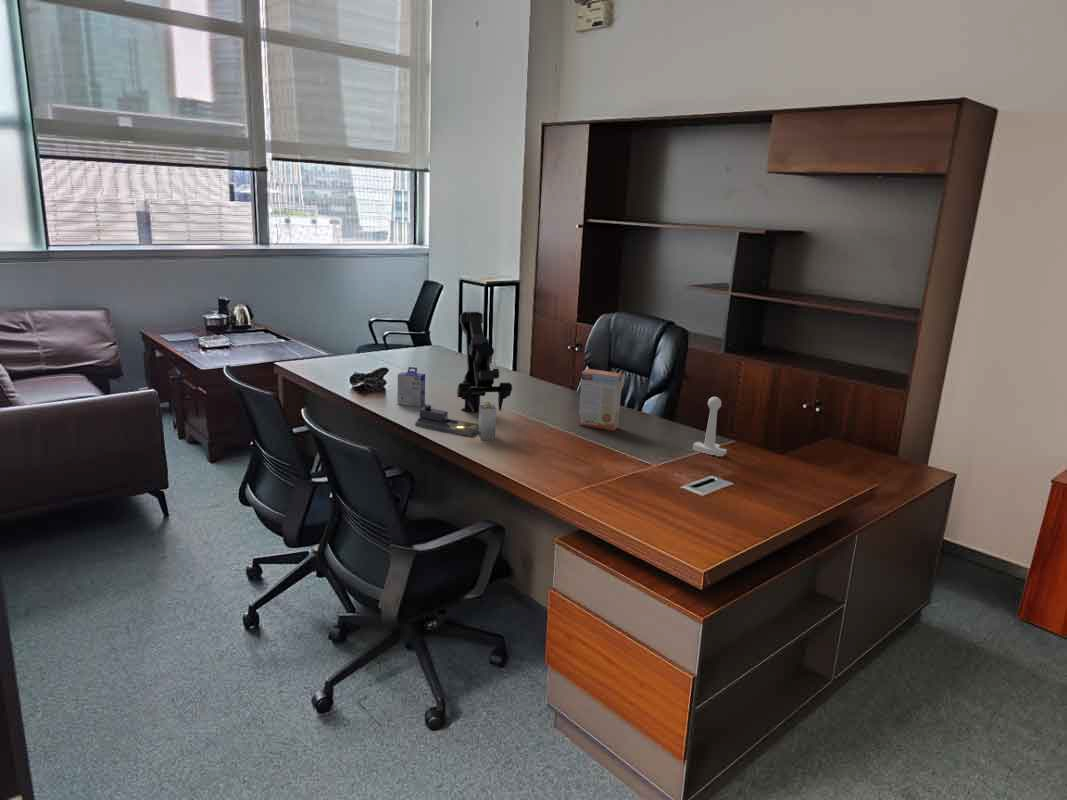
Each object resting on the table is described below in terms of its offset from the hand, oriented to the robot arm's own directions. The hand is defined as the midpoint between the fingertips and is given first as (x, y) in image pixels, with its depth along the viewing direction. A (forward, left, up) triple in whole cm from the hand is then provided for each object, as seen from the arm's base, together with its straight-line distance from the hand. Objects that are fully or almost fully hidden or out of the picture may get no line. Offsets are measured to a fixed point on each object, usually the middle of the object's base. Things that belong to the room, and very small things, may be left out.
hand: (487, 411), depth 254 cm
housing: (+1, +1, -9) cm, 9 cm away
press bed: (-2, -16, -9) cm, 18 cm away
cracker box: (-33, +30, -9) cm, 45 cm away
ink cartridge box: (-19, -43, -9) cm, 48 cm away
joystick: (-27, +73, -9) cm, 78 cm away
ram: (-1, -22, -7) cm, 23 cm away
